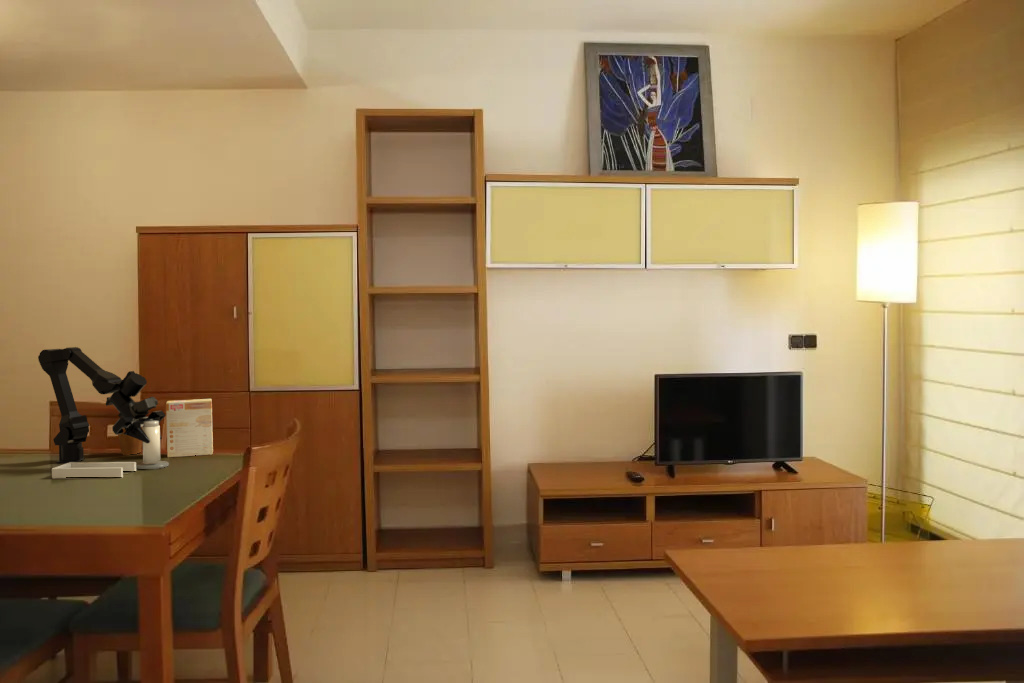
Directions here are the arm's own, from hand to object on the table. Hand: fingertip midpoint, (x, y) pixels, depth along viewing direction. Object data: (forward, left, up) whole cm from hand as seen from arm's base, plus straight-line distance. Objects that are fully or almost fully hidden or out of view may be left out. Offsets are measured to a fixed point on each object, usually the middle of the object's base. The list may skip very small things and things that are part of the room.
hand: (154, 440), depth 261 cm
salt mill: (-1, 0, -7) cm, 7 cm away
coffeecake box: (+3, +22, -9) cm, 24 cm away
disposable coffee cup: (-19, +24, -9) cm, 32 cm away
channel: (-13, -12, -9) cm, 20 cm away
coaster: (-1, 0, -9) cm, 9 cm away
